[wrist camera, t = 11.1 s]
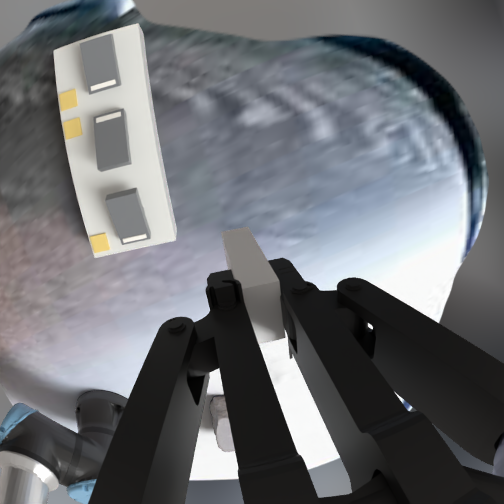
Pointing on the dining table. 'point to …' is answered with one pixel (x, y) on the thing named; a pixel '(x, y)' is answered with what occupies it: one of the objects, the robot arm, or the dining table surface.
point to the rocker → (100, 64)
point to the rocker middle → (111, 140)
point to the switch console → (140, 140)
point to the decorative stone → (221, 424)
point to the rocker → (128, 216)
